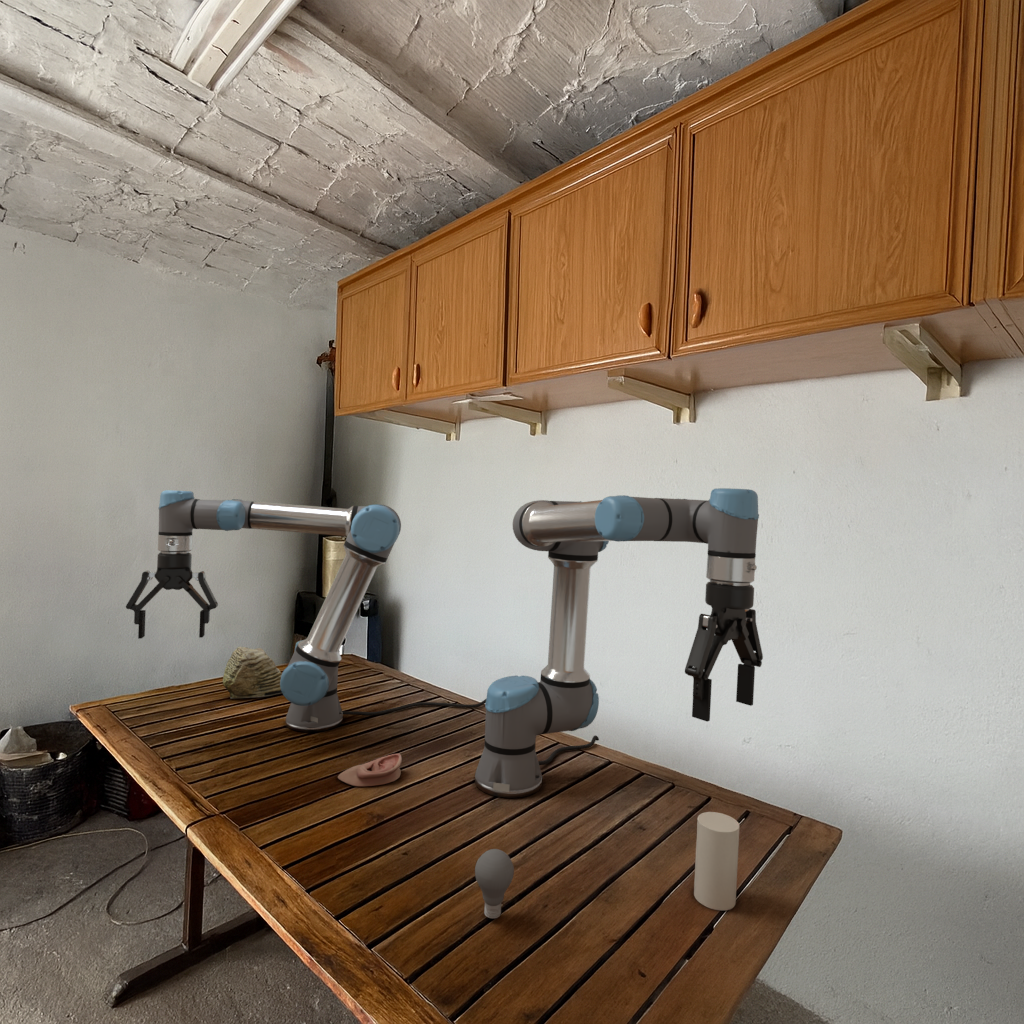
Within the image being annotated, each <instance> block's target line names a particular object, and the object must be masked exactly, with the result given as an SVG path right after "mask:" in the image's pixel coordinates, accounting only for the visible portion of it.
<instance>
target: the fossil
mask: <svg viewBox="0 0 1024 1024" xmlns="http://www.w3.org/2000/svg"><path fill="white" fill-rule="evenodd" d="M282 673H283V672H281V669H279V668H278V667H277V665H276V663H275V662H274V660H273V659H272V658H271V657H270V656H269V655H268V654H267V653H266V652H265V650H264V649H263V648H260V647H258V648H251V647H247V646H246V647H245V646H238V647H237V648H236V649H235V650H233V651H232V653H231V656H230V657H229V659H228V660H227V663H226V666H225V668H224V671H223V675H222V676H223V677H222V685H223V687H224V688H225V690H226V691H228V693H229V698H230V699H250V698H264V697H271V696H275V695H281V694H283V693H282V691H281V688H280V680H281V675H282Z"/></svg>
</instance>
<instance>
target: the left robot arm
mask: <svg viewBox="0 0 1024 1024" xmlns="http://www.w3.org/2000/svg"><path fill="white" fill-rule="evenodd" d="M242 529H247V530H250V529H252V530H262V531H263V530H264V531H274V532H275V531H276V532H289V533H302V534H315V535H327V536H341V537H346V539H345V541H344V544H343V549H344V552H345V555H344V558H343V560H342V562H341V564H340V566H339V568H338V571H337V573H336V575H335V577H334V580H333V581H332V584H331V586H330V588H329V590H328V593H327V595H326V597H325V598H324V600H323V603H322V605H321V607H320V609H319V612H318V614H317V616H316V619H315V621H314V623H313V625H312V627H311V628H310V632H309V634H308V636H307V638H305V639H303V640H302V639H301V640H298V641H297V642H296V643H295V648H294V652H293V654H292V656H291V658H290V660H289V662H288V664H287V666H286V667H285V668H284V669H283V671H282V672H281V673H282V675H281V680H280V688H281V691H282V693H281V694H282V695H283V697H284V698H285V699H286V700H287V701H288V702H289V703H290V704H289V708H288V711H287V713H286V715H285V726H286V728H287V729H289V730H291V731H294V732H295V731H296V732H301V733H316V732H325V731H329V730H332V729H335V728H337V727H339V726H340V725H342V723H343V722H344V715H345V716H367V717H368V716H380V715H386V714H389V713H392V712H393V713H394V712H397V711H402V710H405V709H409V708H414V707H423V706H436V707H452V708H453V707H454V708H465V709H474V708H480V707H481V706H484V705H485V703H486V698H485V699H484V700H482V701H481V702H478V703H474V704H465V703H453V702H437V701H436V702H432V701H422V702H414V703H413V702H412V703H409V704H404V705H400V706H397V707H392V708H388V709H383V710H379V711H355V710H351V711H349V710H347V711H346V710H343V709H342V706H341V702H340V699H339V695H338V682H339V681H338V680H339V678H338V677H339V666H340V663H341V661H342V656H341V654H340V649H341V647H342V645H343V644H344V643H343V642H344V640H345V638H346V636H347V634H348V631H349V630H350V627H351V625H352V623H353V621H354V619H355V616H356V614H357V612H358V610H359V608H360V606H361V604H362V601H363V599H364V596H365V594H366V592H367V590H368V588H369V585H370V584H371V581H372V579H373V578H374V575H375V573H376V570H377V568H379V566H383V565H385V564H386V563H387V561H388V558H389V556H390V554H391V552H392V550H393V548H394V545H395V543H396V542H397V540H398V538H399V535H400V533H401V531H402V521H401V519H400V516H399V514H398V513H397V512H396V511H395V509H393V508H392V507H390V506H388V505H385V504H369V505H352V506H350V507H348V508H342V507H328V506H317V505H304V504H291V503H290V504H289V503H279V502H268V501H251V500H243V499H239V498H238V499H237V498H236V499H234V498H233V499H199V498H195V495H194V492H193V491H191V490H173V489H172V490H171V489H165V490H163V491H161V492H160V495H159V505H158V534H157V551H159V553H158V554H157V562H156V571H150V570H145V571H143V572H142V573H141V577H140V582H139V583H138V585H137V587H136V588H135V589H134V592H133V594H132V595H131V597H130V598H129V600H128V602H127V603H126V605H125V608H126V609H127V610H130V611H133V613H134V614H133V615H134V617H133V623H134V625H138V629H137V630H138V632H137V634H138V635H137V638H138V639H139V640H140V639H143V638H145V636H146V612H147V611H146V609H144V608H145V607H146V606H147V604H148V603H149V602H150V601H151V600H153V598H154V597H155V596H156V595H157V594H158V593H159V592H160V591H161V590H162V589H164V590H166V591H169V590H170V591H171V590H175V591H180V590H183V589H184V591H185V592H187V594H188V595H189V596H190V597H191V598H192V599H193V600H194V601H195V602H196V604H197V605H198V606H199V607H200V608H201V610H200V611H199V631H198V632H199V634H198V635H199V636H198V638H199V639H200V638H202V639H203V638H204V636H205V633H206V629H205V628H206V624H209V623H210V617H211V616H210V615H211V610H215V609H216V608H218V606H219V603H218V601H217V600H216V597H215V595H214V594H213V592H212V589H211V588H210V585H209V584H208V582H207V579H206V572H205V571H204V570H201V571H199V572H193V571H192V557H193V555H192V553H191V551H192V550H193V530H211V531H212V530H213V531H224V532H228V531H229V532H230V531H240V530H242ZM153 578H154V579H155V580H156V581H157V582H158V583H157V584H156V585H155V586H154V588H153V589H152V590H151V591H149V593H148V594H147V595H146V596H144V598H143V599H142V600H141V601H140V602H139V603H138V604H137V602H138V600H139V598H140V596H141V595H142V593H143V592H144V591H145V588H146V586H147V585H148V583H149V582H150V581H152V580H153ZM193 578H194V579H195V581H197V582H198V584H199V586H200V588H201V590H202V592H203V593H204V595H205V598H206V599H207V601H208V602H207V601H206V600H205V598H204V597H203V596H202V595H201V594H200V593H199V592H198V591H197V590H196V589H195V587H194V586H193V585H192V584H191V580H192V579H193Z"/></svg>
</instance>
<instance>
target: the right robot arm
mask: <svg viewBox="0 0 1024 1024" xmlns="http://www.w3.org/2000/svg"><path fill="white" fill-rule="evenodd" d="M759 519H760V514H759V496H758V493H757V492H756V491H755V490H753V489H749V488H748V489H747V488H730V487H729V488H725V487H723V488H722V487H720V488H719V487H718V488H713V489H712V490H711V491H710V496H709V499H708V500H706V499H688V498H668V497H667V498H664V497H663V498H662V497H661V498H660V497H643V496H641V497H640V496H631V495H630V496H629V495H609V496H606V497H603V498H602V499H599V500H587V501H581V500H580V501H575V500H574V501H572V500H571V501H570V500H569V501H567V500H565V501H564V500H547V499H545V500H544V499H538V500H532V501H529V502H526V503H525V504H523V505H521V506H520V507H519V508H518V509H517V511H516V512H515V514H514V516H513V519H512V531H513V534H514V536H515V538H516V540H517V541H518V542H519V543H520V544H521V545H522V546H524V547H525V548H527V549H530V550H533V551H538V552H548V553H547V558H548V560H549V561H550V562H551V563H552V564H553V577H552V589H551V590H552V591H551V592H552V593H551V605H550V606H551V607H550V623H549V638H548V655H547V665H546V666H545V667H543V668H542V669H541V671H540V681H538V680H537V679H536V678H535V677H532V676H529V675H508V676H503V677H500V678H498V679H496V680H494V681H493V682H492V683H491V684H490V685H489V686H488V688H487V692H486V697H485V699H486V703H485V704H484V705H485V719H484V720H485V721H484V745H483V749H482V750H483V751H482V753H481V756H480V759H479V761H478V764H477V766H476V770H475V773H474V784H475V787H477V789H478V790H480V791H482V792H483V793H485V794H488V795H490V796H493V797H498V798H508V799H516V798H524V797H527V796H532V795H534V794H536V793H537V792H539V791H540V789H541V788H542V785H543V775H542V774H543V773H542V770H541V767H540V766H544V765H547V764H549V763H551V762H552V761H553V760H554V758H555V757H556V756H557V755H558V754H559V753H562V752H566V751H579V750H585V749H590V748H591V747H593V746H594V745H595V743H596V741H600V738H599V736H597V735H593V736H592V739H591V741H590V742H589V743H586V744H580V745H569V746H567V745H566V746H562V747H559V748H557V749H555V750H554V751H552V753H551V754H550V755H549V756H548V757H547V758H546V759H544V760H538V755H537V752H536V742H537V741H536V740H537V736H541V735H547V734H554V733H563V732H575V731H577V730H579V729H585V728H587V727H588V726H591V724H592V723H594V721H595V719H596V717H597V714H598V712H599V704H600V696H599V693H598V692H597V691H598V688H597V686H596V684H595V682H594V681H593V680H592V679H591V674H590V673H589V672H588V670H586V668H585V659H586V644H587V629H588V613H589V599H590V597H589V596H590V582H591V569H592V567H593V566H594V565H595V564H597V562H599V561H598V560H599V553H601V552H602V551H604V550H606V548H607V546H608V545H609V542H618V543H619V542H672V543H673V542H680V543H681V542H683V543H684V542H687V543H698V544H706V545H707V558H706V570H705V571H706V573H705V577H706V578H707V580H709V581H707V583H705V597H704V601H705V604H706V605H708V606H710V607H711V613H710V614H706V613H700V614H699V616H698V625H697V629H696V632H695V635H694V639H693V642H692V646H691V649H690V651H689V655H688V658H687V662H686V664H685V667H684V674H686V675H687V676H690V677H692V678H693V679H692V680H693V684H692V706H691V709H692V710H691V717H692V718H695V719H698V720H700V721H703V722H710V721H711V720H710V719H711V706H712V705H711V704H712V703H711V701H712V699H711V698H712V685H713V684H712V681H713V679H711V678H709V677H710V675H711V673H712V671H713V668H714V666H715V664H716V662H717V660H718V657H719V655H720V653H721V651H722V649H723V647H724V646H725V645H727V644H728V643H729V642H730V641H731V642H732V643H733V646H734V649H735V651H736V653H737V655H738V657H739V661H740V662H741V663H738V664H737V674H736V675H737V677H736V695H735V696H736V697H735V702H736V703H740V704H743V705H747V706H750V707H752V706H753V705H754V695H755V694H754V693H755V676H756V675H755V673H756V672H755V671H756V668H757V667H758V668H761V667H762V664H763V658H764V655H763V650H762V646H761V640H760V636H759V631H758V626H757V625H758V624H757V617H756V616H757V612H756V611H757V610H755V609H753V607H754V602H755V587H754V585H752V584H751V583H753V582H755V575H756V573H755V572H756V570H757V567H758V566H757V565H756V557H757V554H756V553H757V537H758V526H759Z"/></svg>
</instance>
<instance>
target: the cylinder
mask: <svg viewBox="0 0 1024 1024" xmlns="http://www.w3.org/2000/svg"><path fill="white" fill-rule="evenodd" d="M696 820H697V821H696V822H697V823H696V840H695V841H696V842H695V859H694V861H695V863H694V882H693V896H694V898H695V900H696V901H697V902H698V903H699V904H701V905H702V906H704V907H706V908H708V909H711V910H715V911H723V912H724V911H730V910H732V909H733V908H735V906H736V904H737V886H738V885H737V884H738V866H739V865H738V864H739V843H740V829H741V828H740V823H739V822H738V820H736V818H734V817H732V816H730V815H728V814H725V813H722V812H717V811H706V812H702V813H700V814H699V815H697V819H696Z"/></svg>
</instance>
